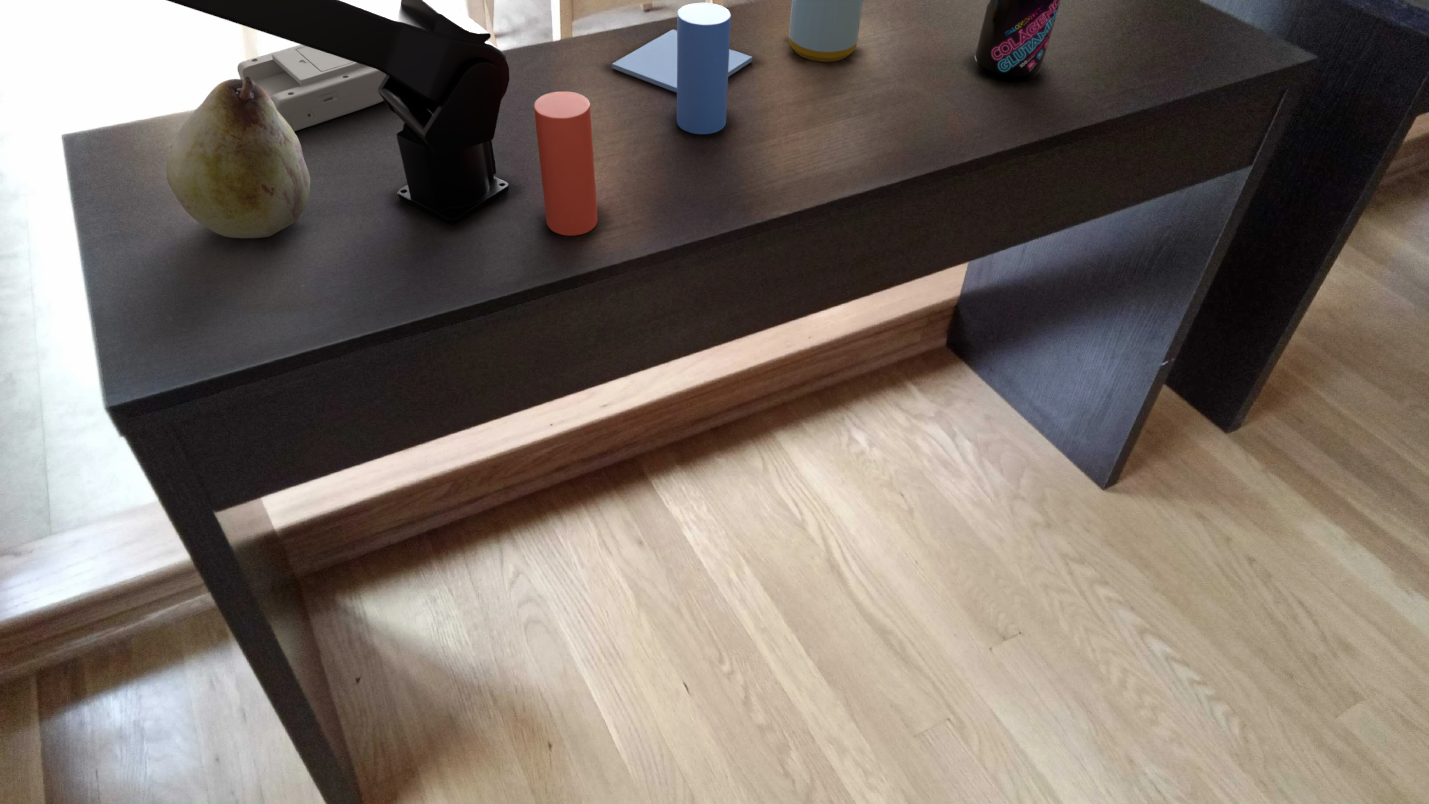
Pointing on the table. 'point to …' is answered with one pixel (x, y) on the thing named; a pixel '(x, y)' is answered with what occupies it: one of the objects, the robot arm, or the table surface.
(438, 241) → the table surface
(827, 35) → the bottle
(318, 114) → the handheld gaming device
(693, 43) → the blue peg
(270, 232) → the fruit
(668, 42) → the blue mat
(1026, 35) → the supplement container
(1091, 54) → the table surface
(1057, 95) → the table surface
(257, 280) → the table surface
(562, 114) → the red peg
